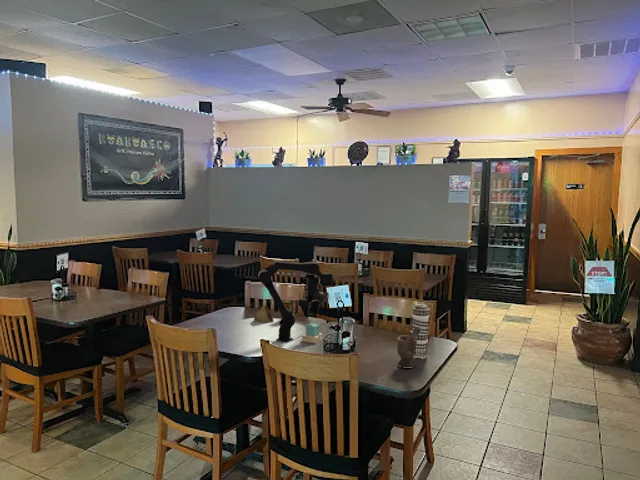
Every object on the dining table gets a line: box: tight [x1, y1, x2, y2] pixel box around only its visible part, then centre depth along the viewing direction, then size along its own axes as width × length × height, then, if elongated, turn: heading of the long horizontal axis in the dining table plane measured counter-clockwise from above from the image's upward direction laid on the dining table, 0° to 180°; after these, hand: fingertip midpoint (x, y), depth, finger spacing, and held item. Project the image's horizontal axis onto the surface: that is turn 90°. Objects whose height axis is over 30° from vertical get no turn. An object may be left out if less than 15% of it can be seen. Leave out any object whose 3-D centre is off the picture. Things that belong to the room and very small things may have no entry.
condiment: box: [278, 300, 293, 322], centre depth 282 cm, size 7×8×12 cm
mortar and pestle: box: [396, 327, 421, 367], centre depth 213 cm, size 12×9×20 cm
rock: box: [253, 305, 274, 323], centre depth 282 cm, size 11×9×10 cm
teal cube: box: [305, 322, 320, 336], centre depth 248 cm, size 5×5×5 cm
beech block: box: [301, 332, 323, 344], centre depth 249 cm, size 8×8×4 cm
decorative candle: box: [410, 303, 431, 357], centre depth 229 cm, size 9×9×25 cm
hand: (311, 316), depth 249 cm, fingers open, 9 cm apart
